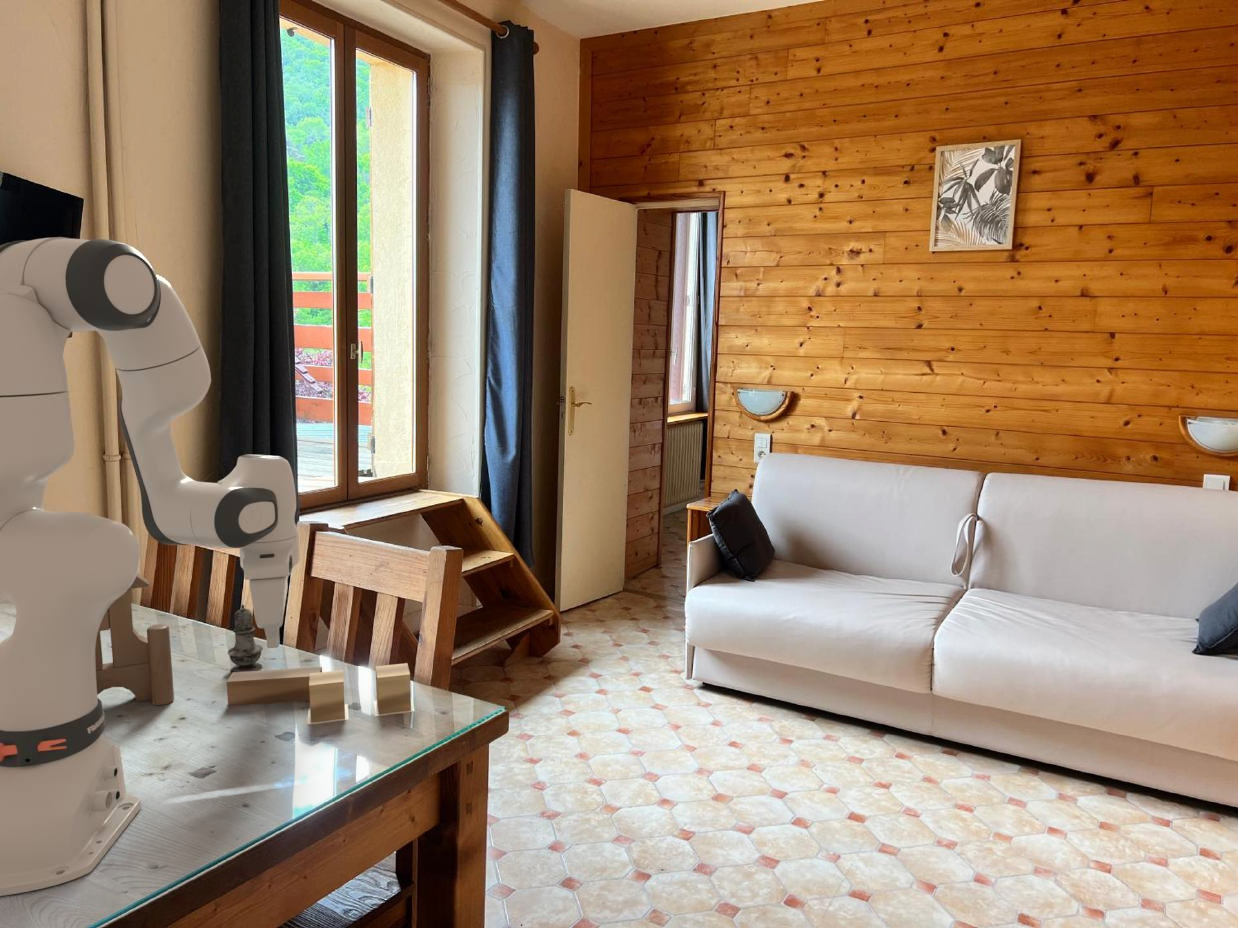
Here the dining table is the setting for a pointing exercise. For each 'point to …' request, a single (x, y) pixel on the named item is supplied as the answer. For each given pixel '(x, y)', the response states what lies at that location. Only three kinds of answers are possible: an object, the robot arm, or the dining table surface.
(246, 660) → the salt shaker
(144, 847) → the dining table surface
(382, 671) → the pillar far
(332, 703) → the pillar near
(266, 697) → the wooden block
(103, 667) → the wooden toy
